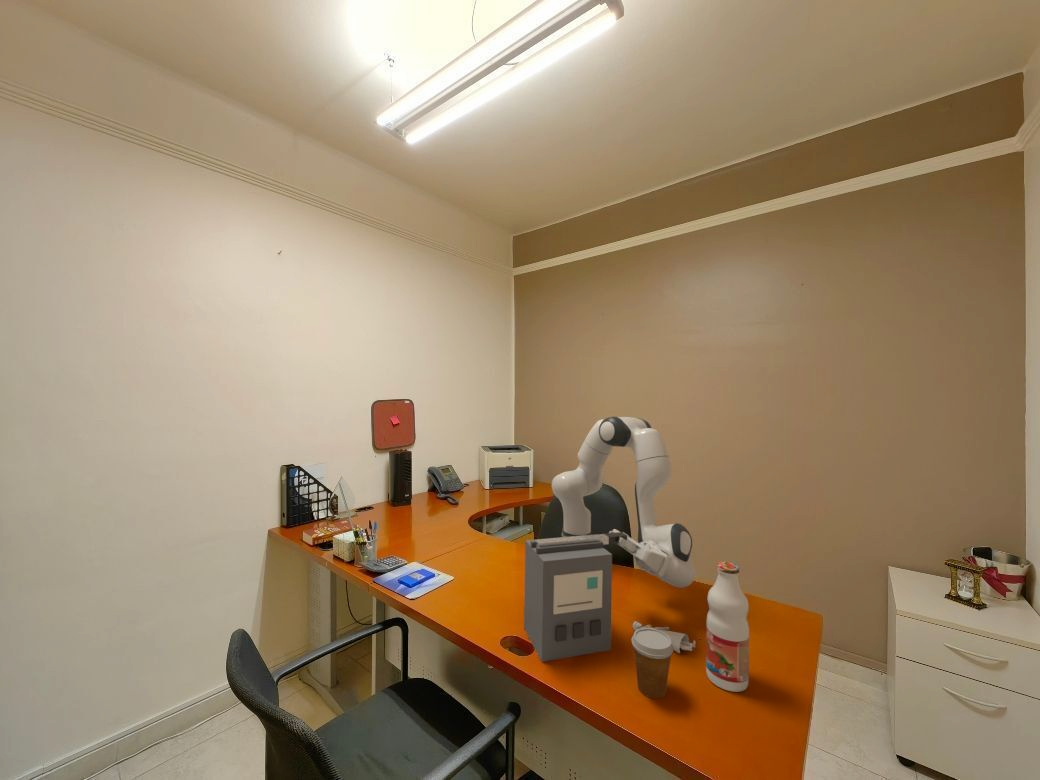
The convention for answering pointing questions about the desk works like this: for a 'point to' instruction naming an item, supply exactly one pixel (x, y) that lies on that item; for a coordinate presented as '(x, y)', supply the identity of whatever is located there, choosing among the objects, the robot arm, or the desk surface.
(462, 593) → the desk surface
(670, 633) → the woman figurine
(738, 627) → the fruit juice
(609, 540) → the bar
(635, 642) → the disposable coffee cup
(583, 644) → the grey grooved block
